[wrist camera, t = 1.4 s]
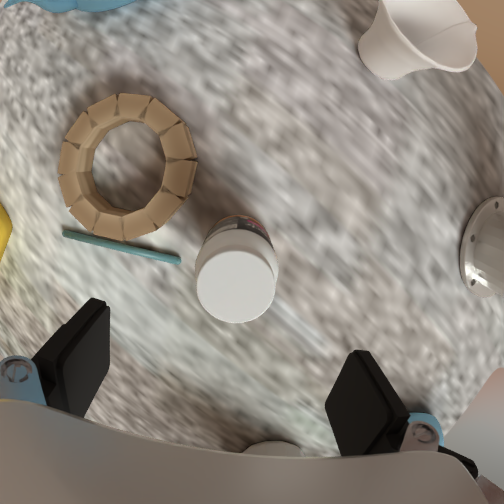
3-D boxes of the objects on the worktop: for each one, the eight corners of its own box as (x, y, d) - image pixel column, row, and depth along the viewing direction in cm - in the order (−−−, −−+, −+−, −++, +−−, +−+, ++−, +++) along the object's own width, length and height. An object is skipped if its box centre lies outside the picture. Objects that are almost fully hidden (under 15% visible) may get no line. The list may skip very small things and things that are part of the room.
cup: (429, 96, 23) (494, 79, 14) (348, 92, 23) (401, 60, 14) (410, 22, 21) (462, -14, 11) (330, 12, 21) (366, -42, 11)
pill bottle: (282, 252, 27) (304, 298, 18) (230, 286, 28) (226, 346, 18) (245, 200, 26) (248, 220, 16) (192, 238, 27) (167, 278, 17)
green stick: (182, 256, 27) (181, 259, 26) (181, 263, 27) (179, 266, 27) (64, 228, 26) (61, 230, 25) (64, 235, 26) (60, 237, 25)
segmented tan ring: (210, 111, 24) (206, 104, 21) (180, 243, 27) (174, 253, 24) (90, 96, 22) (75, 90, 19) (68, 218, 25) (52, 224, 23)
